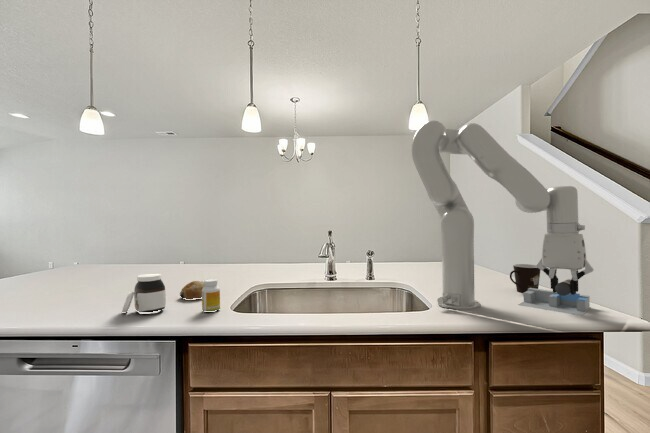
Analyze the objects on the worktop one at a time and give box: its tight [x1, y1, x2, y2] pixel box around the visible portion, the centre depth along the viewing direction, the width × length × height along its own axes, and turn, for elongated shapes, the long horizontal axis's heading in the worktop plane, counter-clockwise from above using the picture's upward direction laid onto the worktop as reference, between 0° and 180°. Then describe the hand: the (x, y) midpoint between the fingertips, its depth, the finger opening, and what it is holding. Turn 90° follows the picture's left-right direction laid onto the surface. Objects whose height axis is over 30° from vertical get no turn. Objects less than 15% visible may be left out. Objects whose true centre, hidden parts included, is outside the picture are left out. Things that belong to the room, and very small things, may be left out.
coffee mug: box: [509, 263, 541, 294], centre depth 124 cm, size 12×9×10 cm
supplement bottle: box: [201, 278, 221, 312], centre depth 108 cm, size 5×5×10 cm
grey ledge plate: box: [517, 288, 592, 317], centre depth 105 cm, size 12×16×5 cm
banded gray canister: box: [555, 278, 572, 296], centre depth 101 cm, size 8×4×4 cm, turn 131°
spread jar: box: [121, 273, 167, 313], centre depth 108 cm, size 12×11×12 cm
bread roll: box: [179, 280, 205, 299], centre depth 126 cm, size 10×10×8 cm
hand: (564, 292), depth 99 cm, fingers closed on banded gray canister, 3 cm apart
